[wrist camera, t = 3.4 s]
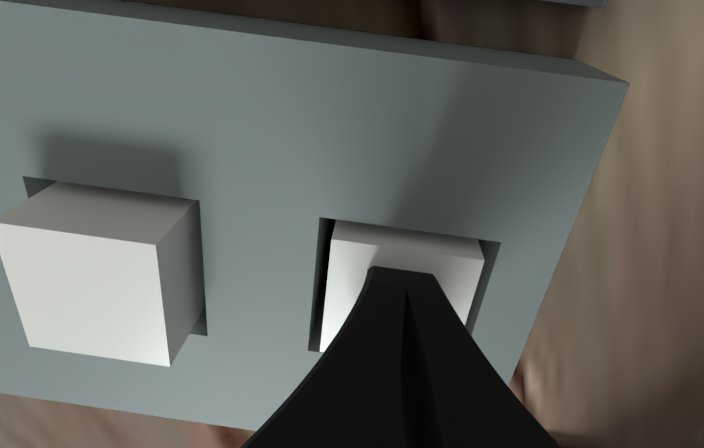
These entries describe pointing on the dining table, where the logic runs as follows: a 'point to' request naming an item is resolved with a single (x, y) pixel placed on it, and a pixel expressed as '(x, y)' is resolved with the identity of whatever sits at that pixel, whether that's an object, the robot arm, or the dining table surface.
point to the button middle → (105, 271)
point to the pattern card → (583, 2)
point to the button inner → (396, 266)
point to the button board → (287, 177)
